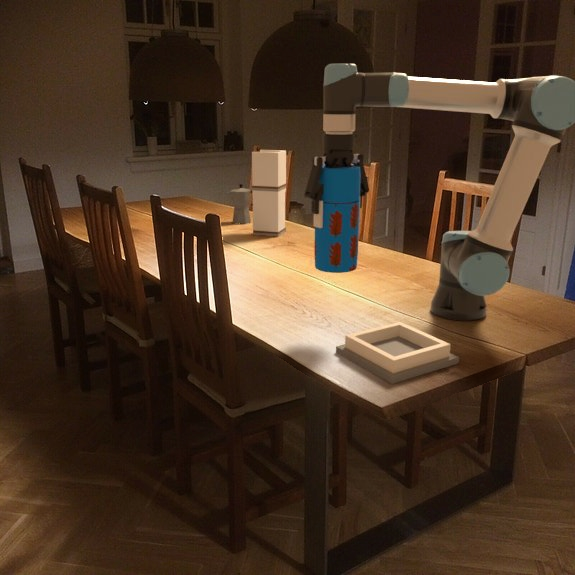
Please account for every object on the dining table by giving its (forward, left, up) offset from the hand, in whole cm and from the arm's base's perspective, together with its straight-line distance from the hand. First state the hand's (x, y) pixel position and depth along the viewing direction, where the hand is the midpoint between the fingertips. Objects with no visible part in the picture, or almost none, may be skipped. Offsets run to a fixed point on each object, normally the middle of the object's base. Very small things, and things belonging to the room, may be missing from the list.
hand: (336, 224), depth 156 cm
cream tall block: (+11, -116, -28) cm, 120 cm away
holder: (-12, +19, -28) cm, 36 cm away
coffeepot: (+22, -141, -28) cm, 146 cm away
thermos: (0, 0, -11) cm, 11 cm away
